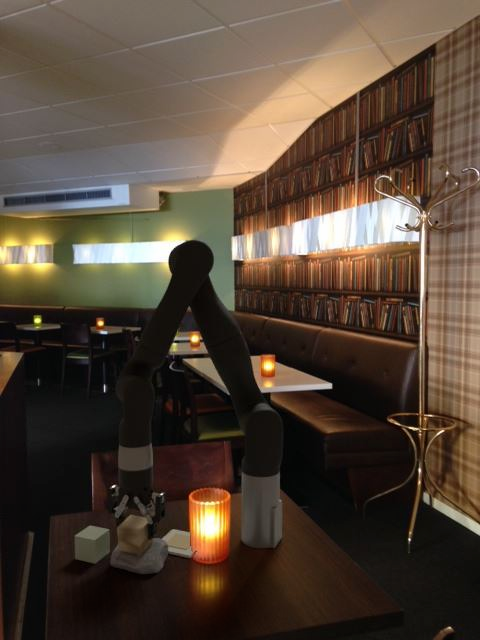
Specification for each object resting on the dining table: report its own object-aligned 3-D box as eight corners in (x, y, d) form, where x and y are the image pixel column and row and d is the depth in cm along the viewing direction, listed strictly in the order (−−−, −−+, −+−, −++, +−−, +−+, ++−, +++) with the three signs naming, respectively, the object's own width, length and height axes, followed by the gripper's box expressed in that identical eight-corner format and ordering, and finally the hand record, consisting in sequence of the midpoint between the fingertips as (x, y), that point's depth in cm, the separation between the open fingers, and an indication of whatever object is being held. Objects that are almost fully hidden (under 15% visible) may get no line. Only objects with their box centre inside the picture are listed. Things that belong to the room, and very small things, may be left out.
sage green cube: (109, 552, 122) (109, 529, 122) (95, 564, 117) (94, 540, 117) (90, 547, 124) (90, 525, 124) (75, 559, 119) (74, 535, 119)
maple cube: (153, 540, 119) (151, 518, 118) (140, 555, 114) (138, 532, 113) (132, 536, 121) (130, 514, 120) (118, 550, 116) (116, 527, 115)
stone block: (159, 583, 113) (171, 551, 123) (157, 565, 112) (169, 534, 121) (106, 581, 115) (122, 550, 124) (103, 563, 113) (119, 532, 123)
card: (208, 538, 129) (208, 535, 129) (190, 558, 120) (190, 554, 120) (172, 531, 133) (172, 528, 132) (152, 550, 123) (152, 546, 123)
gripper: (172, 462, 118) (173, 533, 119) (118, 454, 123) (119, 523, 124) (155, 473, 111) (156, 549, 112) (98, 464, 116) (99, 537, 117)
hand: (136, 535), depth 118 cm, fingers open, 7 cm apart
